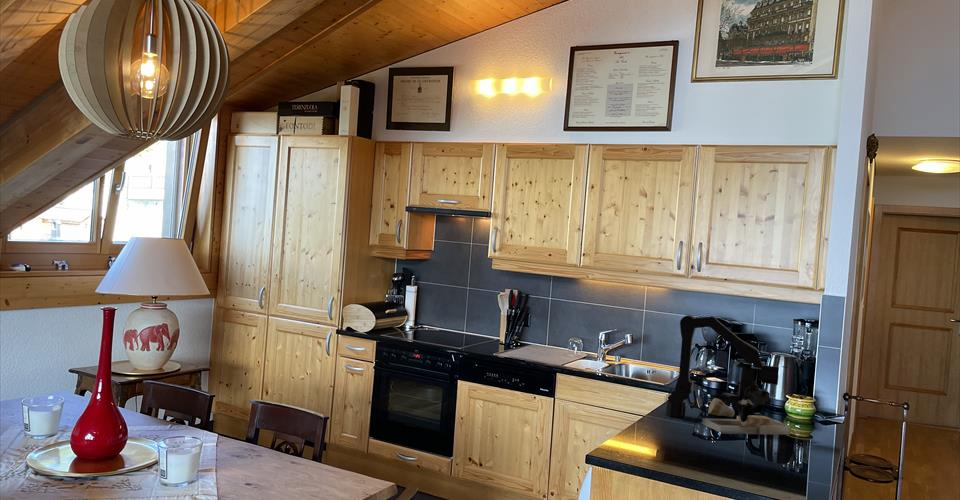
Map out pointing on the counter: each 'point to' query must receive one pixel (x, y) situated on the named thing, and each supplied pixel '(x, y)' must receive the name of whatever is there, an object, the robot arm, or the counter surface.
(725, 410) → the cream ceramic pitcher
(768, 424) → the chip
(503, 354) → the counter surface
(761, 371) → the robot arm
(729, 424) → the rail board
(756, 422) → the chip
